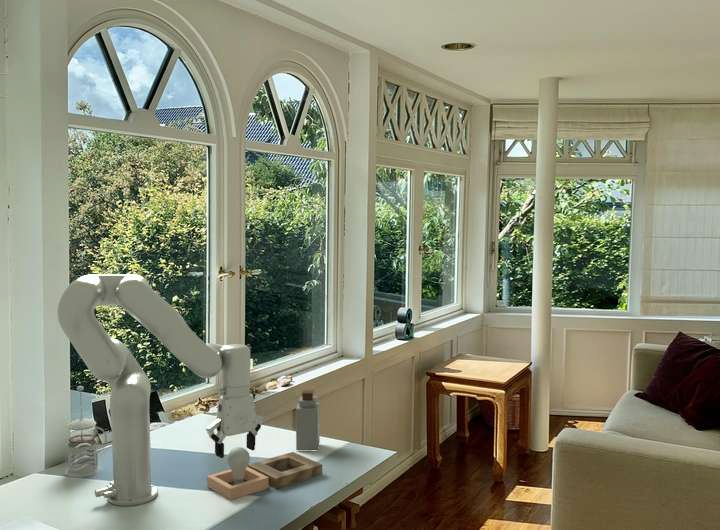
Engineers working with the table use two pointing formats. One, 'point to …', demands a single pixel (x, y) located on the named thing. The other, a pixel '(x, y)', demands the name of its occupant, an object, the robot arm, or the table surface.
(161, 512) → the table surface
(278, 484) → the walnut holder
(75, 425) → the french press
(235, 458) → the lightbulb
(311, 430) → the perfume bottle
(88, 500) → the table surface
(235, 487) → the terracotta stand
